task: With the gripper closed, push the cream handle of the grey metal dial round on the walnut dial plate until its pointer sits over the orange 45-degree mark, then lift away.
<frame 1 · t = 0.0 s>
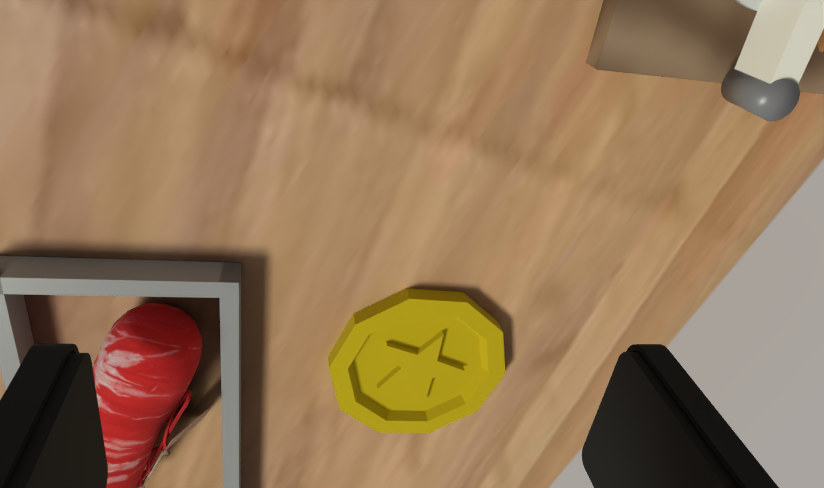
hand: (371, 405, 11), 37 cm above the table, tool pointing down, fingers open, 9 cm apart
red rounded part: (141, 399, 57), resting in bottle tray
decorative disc: (416, 355, 60), on the table
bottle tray: (138, 402, 57), on the table
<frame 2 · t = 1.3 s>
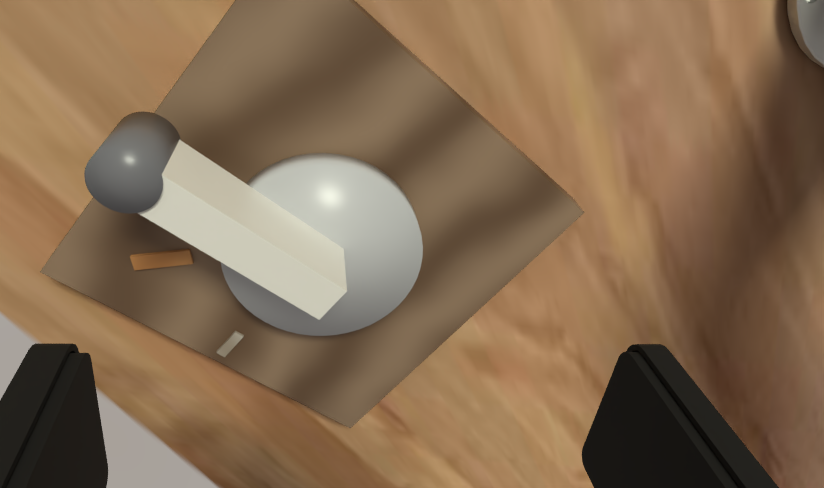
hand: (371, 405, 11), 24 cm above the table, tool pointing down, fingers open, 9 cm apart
dial: (273, 238, 31), point 5 cm above the table, hinge at 0.0°
dial plate: (323, 224, 36), on the table
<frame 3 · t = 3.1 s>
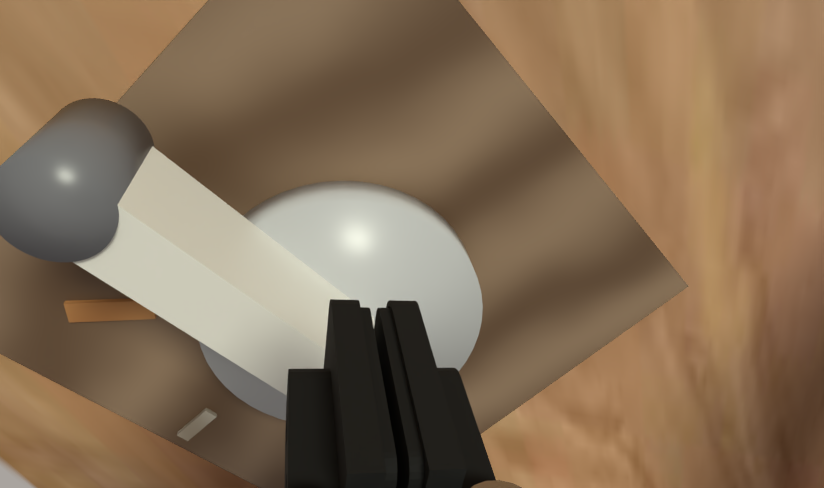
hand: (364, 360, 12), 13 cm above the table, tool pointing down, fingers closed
dial: (279, 301, 21), point 5 cm above the table, hinge at 0.0°
dial plate: (340, 272, 27), on the table
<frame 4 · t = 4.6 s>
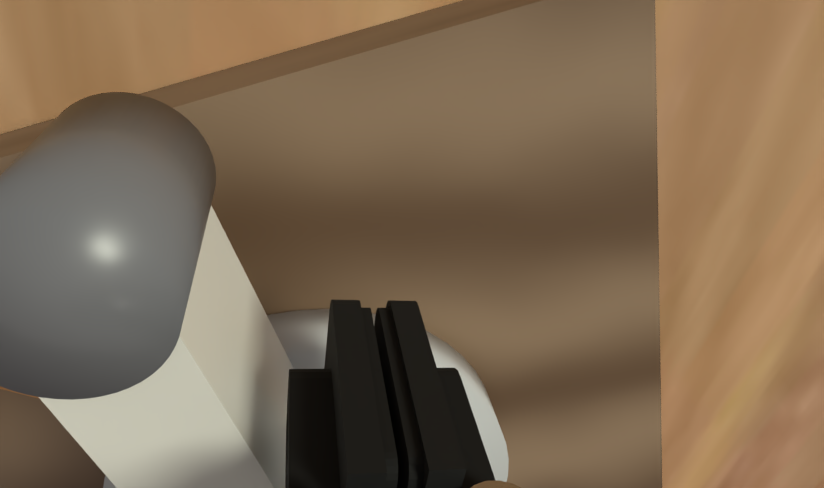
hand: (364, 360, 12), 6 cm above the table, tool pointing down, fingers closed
dial: (273, 470, 14), point 5 cm above the table, hinge at 1.0°, touching gripper
dial plate: (313, 403, 20), on the table
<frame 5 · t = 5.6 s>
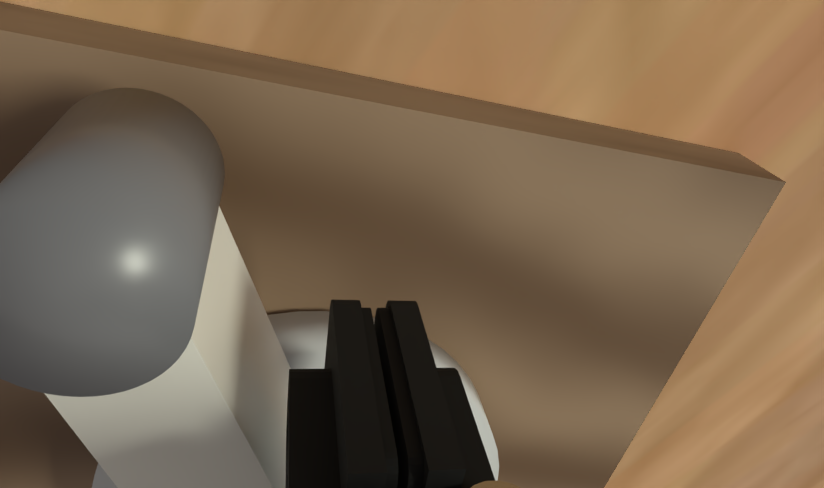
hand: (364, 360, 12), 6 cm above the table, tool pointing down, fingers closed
dial: (267, 471, 14), point 5 cm above the table, hinge at 26.3°, touching gripper
dial plate: (304, 404, 20), on the table
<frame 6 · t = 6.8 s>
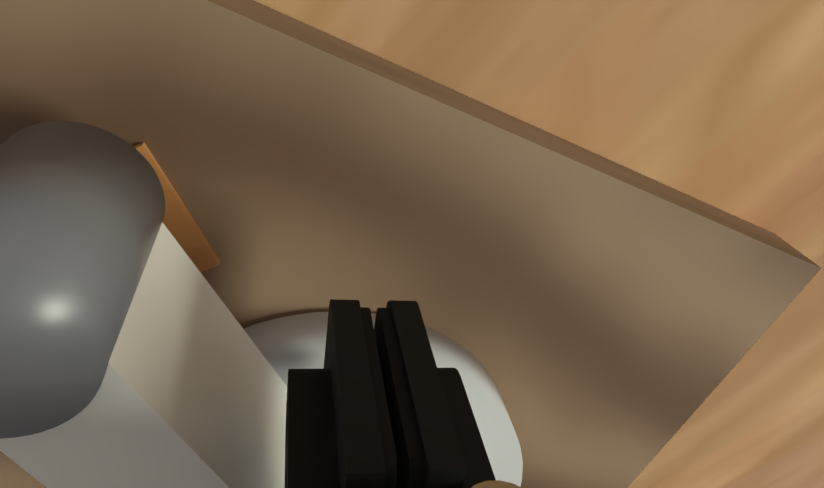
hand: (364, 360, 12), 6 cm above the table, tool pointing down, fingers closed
dial: (270, 481, 14), point 5 cm above the table, hinge at 48.1°
dial plate: (324, 405, 20), on the table
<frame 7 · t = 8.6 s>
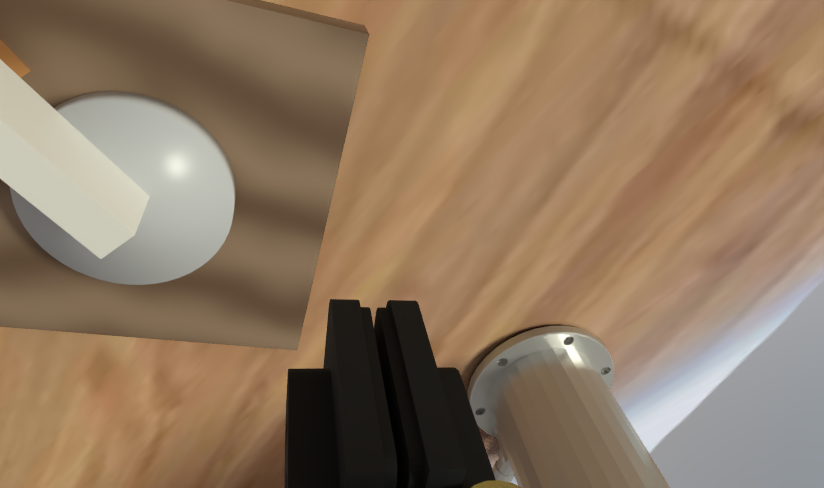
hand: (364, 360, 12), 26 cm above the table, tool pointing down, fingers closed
dial: (69, 167, 30), point 5 cm above the table, hinge at 48.1°
dial plate: (140, 170, 36), on the table
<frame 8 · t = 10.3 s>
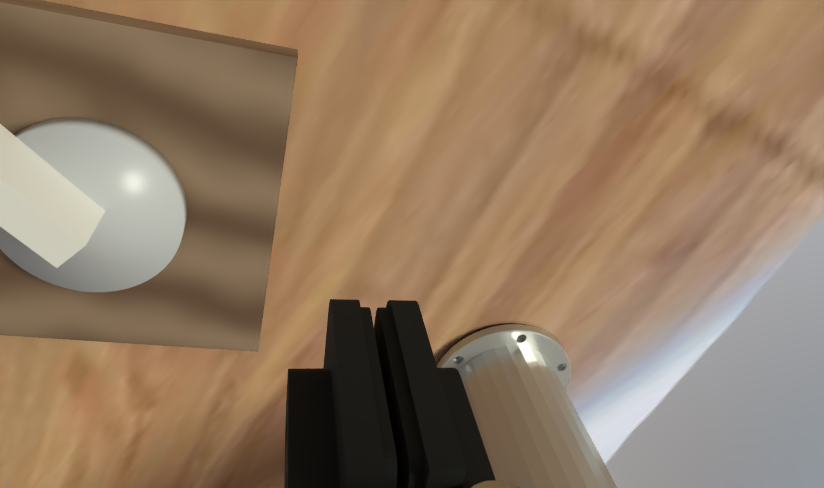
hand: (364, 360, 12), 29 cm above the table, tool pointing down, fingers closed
dial: (28, 186, 33), point 5 cm above the table, hinge at 48.1°
dial plate: (102, 188, 39), on the table
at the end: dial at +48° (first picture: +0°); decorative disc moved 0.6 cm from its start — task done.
